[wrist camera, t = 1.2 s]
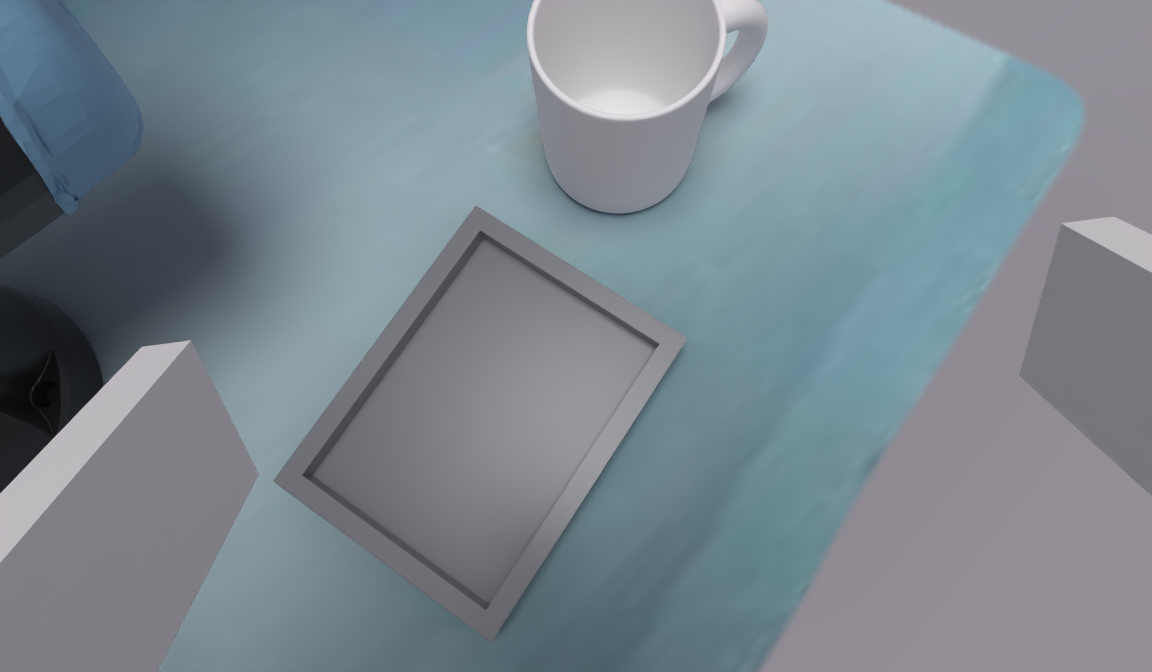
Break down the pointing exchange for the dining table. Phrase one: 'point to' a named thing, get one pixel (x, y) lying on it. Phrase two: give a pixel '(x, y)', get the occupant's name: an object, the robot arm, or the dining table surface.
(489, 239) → the tray
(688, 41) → the mug
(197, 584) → the robot arm
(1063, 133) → the dining table surface
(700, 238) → the dining table surface
